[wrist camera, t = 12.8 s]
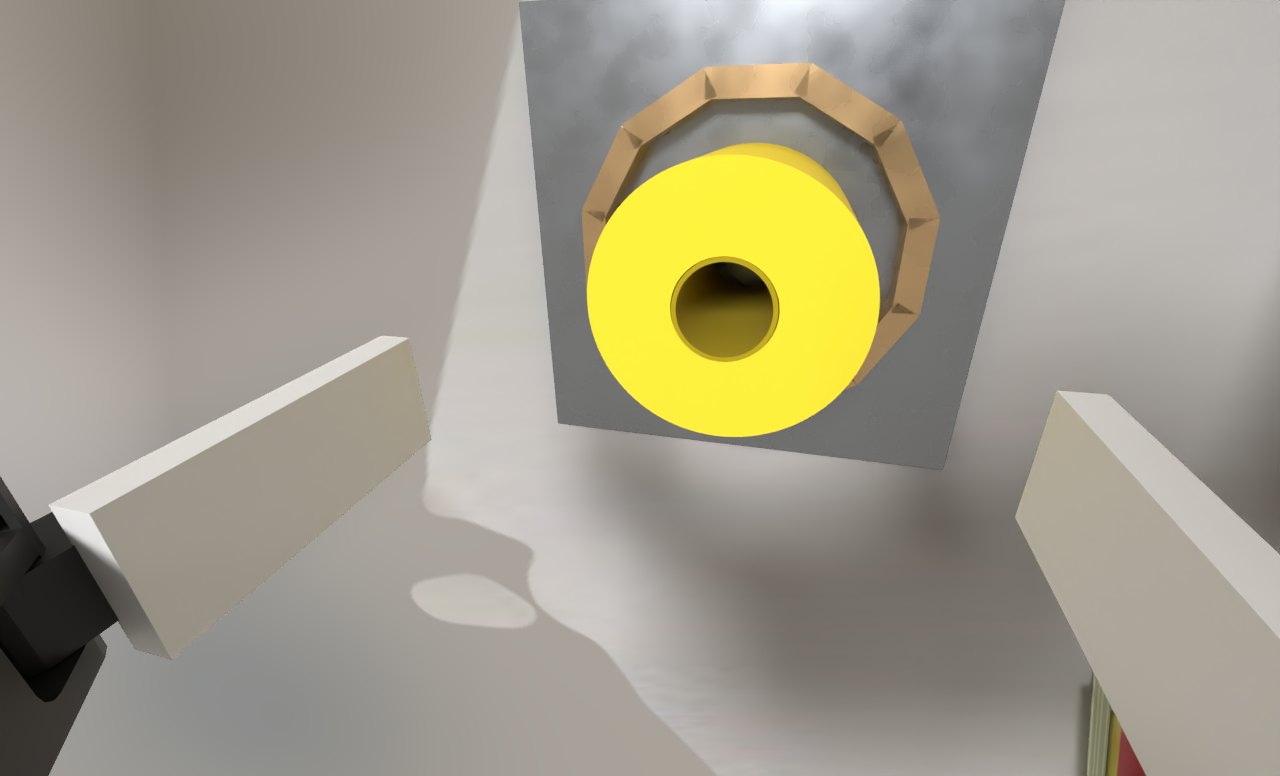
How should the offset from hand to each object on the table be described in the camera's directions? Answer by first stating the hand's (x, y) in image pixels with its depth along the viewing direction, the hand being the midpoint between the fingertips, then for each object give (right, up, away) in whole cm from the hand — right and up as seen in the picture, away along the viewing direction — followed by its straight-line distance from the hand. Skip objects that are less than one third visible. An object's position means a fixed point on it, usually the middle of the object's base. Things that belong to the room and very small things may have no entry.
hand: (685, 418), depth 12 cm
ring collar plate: (+5, +8, +17) cm, 19 cm away
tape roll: (+4, +7, +16) cm, 18 cm away
